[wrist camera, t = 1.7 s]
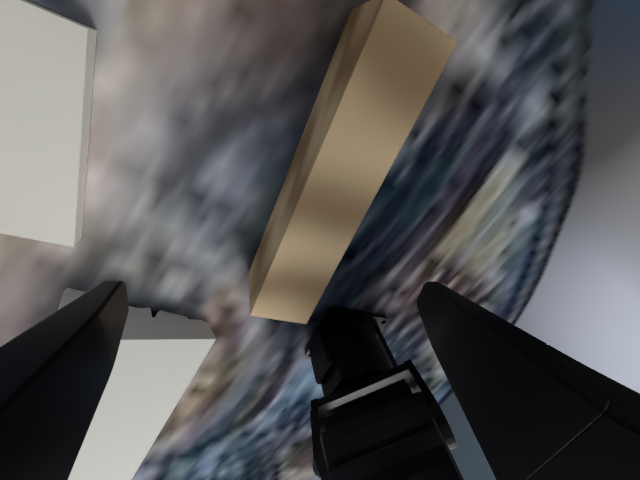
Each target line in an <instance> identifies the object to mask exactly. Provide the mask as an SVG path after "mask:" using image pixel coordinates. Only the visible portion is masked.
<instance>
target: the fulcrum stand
mask: <svg viewBox="0 0 640 480" xmlns="http://www.w3.org/2000/svg"><path fill="white" fill-rule="evenodd" d="M96 37H97V30H95V29H93V28H90V27H88V26H86V25H83V24H81V23H78V22H76V21H74V20H71V19H69V18H67V17H64V16H62V15H60V14H57V13H55V12H53V11H50V10H48V9H46V8H43V7H41V6H39V5H36V4H34V3H32V2H29V1H27V0H0V233H2V234H7V235H12V236H18V237H23V238H28V239H33V240H39V241H44V242H49V243H55V244H60V245H65V246H70V247H75V246H76V245H77V243H78V242H79V241H80V240H81V239H82V226H83V213H84V199H85V186H86V172H87V159H88V145H89V131H90V118H91V104H92V91H93V77H94V64H95V50H96Z"/></svg>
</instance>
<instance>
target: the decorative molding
mask: <svg viewBox="0 0 640 480" xmlns="http://www.w3.org/2000/svg"><path fill="white" fill-rule="evenodd" d="M84 293H86V292H83V291H79V290H75V289H71V288H66V289H65V290H64V292H63V294H62V297H61V301H60V304H59V307H58V310H59V309H61V308H62V307H64V306H65V305H67V304H69V303H70V302H72V301H73V300H75V299H76V298H78V297H79V296H81V295H83V294H84ZM58 310H57V311H58ZM215 340H216V338H215V336H214V334H213V332H212V330H211V328H210V326H209V324H208V322H206V321H202V320H197V319H188V317H185V316H181V315H177V314H173V313H169V312H165V311H161V310H160V311H159V312H157V314H156V316H155V317H152V313H151V309H150V308H149V307H147V308H135V307H132V306H129V311H128V316H127V319H126V323H125V327H124V330H123V334H122V338H121V341H120V345H119V349H118V352H117V356H116V360H115V363H114V366H113V369H112V372H111V375H110V377H109V380H108V382H107V385H106V387H105V390H104V392H103V395H102V397H101V400H100V402H99V404H98V407H97V409H96V412H95V414H94V417H93V419H92V422H91V424H90V426H89V429H88V431H87V434H86V436H85V439H84V441H83V444H82V446H81V448H80V451H79V453H78V456H77V458H76V461H75V463H74V466H73V468H72V470H71V473H70V475H69V478H68V480H131V479H132V478H133V476H134V474H135V473H136V471H137V469H138V468H139V466H140V464H141V463H142V461H143V459H144V458H145V456H146V454H147V453H148V451H149V449H150V448H151V446H152V444H153V443H154V441H155V439H156V438H157V436H158V434H159V433H160V431H161V429H162V428H163V426H164V424H165V423H166V421H167V419H168V418H169V416H170V415H171V413H172V411H173V410H174V408H175V406H176V405H177V403H178V401H179V400H180V398H181V396H182V395H183V393H184V391H185V390H186V388H187V386H188V385H189V383H190V381H191V380H192V378H193V376H194V375H195V373H196V371H197V370H198V368H199V366H200V365H201V363H202V361H203V360H204V358H205V356H206V355H207V353H208V351H209V350H210V348H211V347H212V345H213V343H214V342H215Z"/></svg>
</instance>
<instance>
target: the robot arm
mask: <svg viewBox="0 0 640 480" xmlns="http://www.w3.org/2000/svg"><path fill="white" fill-rule="evenodd" d="M417 308H418V310H419V313H420V316H421V319H422V321H423V324H424V327H425V329H426V332H427V335H428V337H429V340H430V342H431V345H432V347H433V350H434V352H435V354H436V356H437V358H438V360H439V362H440V364H441V366H442V368H443V370H444V372H445V374H446V377H447V379H448V381H449V383H450V385H451V387H452V389H453V391H454V393H455V395H456V397H457V399H458V401H459V403H460V405H461V407H462V409H463V411H464V413H465V416H466V418H467V420H468V421H469V424H470V426H471V428H472V430H473V432H474V434H475V436H476V438H477V440H478V442H479V444H480V446H481V448H482V451H483V453H484V455H485V457H486V459H487V461H488V463H489V465H490V467H491V469H492V471H493V473H494V475H495V477H496V479H497V480H640V394H639V393H637V392H635V391H633V390H631V389H630V388H628V387H626V386H624V385H621V384H620V383H618V382H616V381H614V380H612V379H610V378H608V377H606V376H604V375H603V374H601V373H598V372H597V371H595V370H593V369H591V368H589V367H587V366H586V365H584V364H581V363H580V362H578V361H576V360H574V359H573V358H571V357H569V356H567V355H565V354H563V353H562V352H560V351H558V350H557V349H555V348H553V347H551V346H550V345H547V344H546V343H544V342H542V341H541V340H539V339H537V338H536V337H534V336H532V335H530V334H528V333H526V332H525V331H523V330H521V329H520V328H518V327H516V326H514V325H513V324H511V323H509V322H507V321H506V320H504V319H502V318H500V317H499V316H497V315H495V314H493V313H492V312H490V311H488V310H486V309H485V308H483V307H481V306H479V305H478V304H476V303H474V302H472V301H471V300H469V299H467V298H465V297H464V296H462V295H460V294H458V293H456V292H455V291H453V290H451V289H449V288H448V287H446V286H444V285H442V284H441V283H439V282H426V283H425V284H424V286H423V288H422V290H421V292H420V294H419V297H418V299H417ZM128 311H129V303H128V298H127V292H126V286H125V284H124V282H123V281H120V280H107V281H103V282H101V283H100V284H98V285H97V286H95V287H93V288H92V289H90V290H89V291H87V292H86V293H84V294H83V295H81V296H79V297H78V298H76V299H75V300H73V301H72V302H70V303H69V304H67V305H65V306H64V307H62V308H61V309H59V310H58V311H56V312H54V313H53V314H51V315H50V316H48V317H47V318H45V319H44V320H42V321H40V322H39V323H37V324H36V325H34V326H33V327H31V328H30V329H28V330H26V331H25V332H23V333H22V334H20V335H19V336H17V337H15V338H14V339H12V340H11V341H9V342H8V343H6V344H5V345H3V346H1V347H0V480H68V478H69V475H70V473H71V470H72V468H73V466H74V463H75V461H76V458H77V456H78V453H79V451H80V448H81V446H82V444H83V441H84V439H85V436H86V434H87V431H88V429H89V426H90V424H91V422H92V419H93V417H94V414H95V412H96V409H97V407H98V404H99V402H100V400H101V397H102V395H103V392H104V390H105V387H106V385H107V382H108V380H109V377H110V375H111V372H112V369H113V366H114V363H115V360H116V356H117V352H118V349H119V345H120V341H121V338H122V334H123V330H124V327H125V323H126V319H127V316H128ZM333 312H334V313H333ZM387 323H388V319H387V317H386V316H384V315H378V314H372V313H367V312H361V311H355V310H349V309H344V308H338V307H331V308H329V309H328V310H327V312H326V314H325V316H324V318H323V320H322V321H321V323H320V325H319V326H318V327H317V329H316V331H315V333H314V334H313V336H312V338H311V340H310V342H309V344H308V347H307V349H306V351H305V356H306V358H309V359H311V361H312V366H313V370H314V375H315V379H316V382H317V384H321V386H322V390H323V394H324V397H322V398H319V399H317V398H316V399H314V400H311V411H310V415H311V428H312V442H313V470H314V473H315V475H316V476H318V477H319V478H321V480H464V479H463V477H462V475H461V473H460V471H459V469H458V467H457V465H456V463H455V460H454V458H453V456H452V454H451V452H450V450H452V449H454V448H456V447H457V444H456V441H455V438H454V436H453V433H452V431H451V428H450V426H449V424H448V422H447V420H446V418H445V416H444V414H443V412H442V410H441V408H440V406H439V405H438V403H437V401H436V399H435V398H434V396H433V394H432V393H431V391H430V390H429V388H428V387H427V385H426V383H425V382H424V380H423V379H422V377H421V376H420V374H419V372H418V371H417V369H416V368H415V366H414V365H413V363H412V361H411V360H410V359H409V360H407V361H404V363H403V364H400V365H397V363H396V361H395V359H394V357H393V355H392V353H391V351H390V349H389V347H388V345H387V343H386V341H385V339H384V337H383V335H382V333H381V332H382V331H383V329H384V328H385V326H386V325H387Z"/></svg>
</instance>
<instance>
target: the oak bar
mask: <svg viewBox="0 0 640 480" xmlns="http://www.w3.org/2000/svg"><path fill="white" fill-rule="evenodd" d="M457 43H458V42H456V41H455V40H453V39H452V38H450V37H449V36H448V35H446V34H445V33H443V32H442V31H440V30H439V29H438V28H436V27H435V26H433V25H432V24H431V23H429V22H428V21H426V20H425V19H423V18H422V17H421V16H419V15H418V14H416V13H415V12H413V11H412V10H411V9H409V8H408V7H406V6H405V5H403V4H402V3H401V2H399V1H398V0H370V1H368V2H366V3H364V4H362V5H359V6H357V7H355V8H353V9H351V11H350V14H349V16H348V19H347V21H346V24H345V27H344V29H343V32H342V34H341V37H340V39H339V42H338V45H337V47H336V50H335V52H334V55H333V57H332V60H331V62H330V65H329V68H328V70H327V73H326V75H325V78H324V80H323V83H322V86H321V88H320V91H319V93H318V96H317V98H316V101H315V104H314V106H313V109H312V111H311V114H310V116H309V119H308V122H307V124H306V127H305V129H304V132H303V134H302V137H301V139H300V142H299V145H298V147H297V150H296V152H295V155H294V157H293V160H292V163H291V165H290V168H289V170H288V173H287V175H286V178H285V181H284V183H283V186H282V188H281V191H280V193H279V196H278V198H277V201H276V204H275V206H274V209H273V211H272V214H271V216H270V219H269V222H268V224H267V227H266V229H265V232H264V234H263V237H262V240H261V242H260V245H259V247H258V250H257V252H256V255H255V258H254V260H253V263H252V265H251V268H250V270H249V291H250V316H257V317H263V318H270V319H276V320H283V321H289V322H296V323H302V324H307V322H308V320H309V318H310V316H311V315H312V313H313V311H314V309H315V307H316V305H317V303H318V302H319V300H320V298H321V296H322V294H323V292H324V290H325V289H326V287H327V285H328V283H329V281H330V279H331V277H332V276H333V274H334V272H335V270H336V268H337V266H338V264H339V263H340V261H341V259H342V257H343V255H344V253H345V251H346V250H347V248H348V246H349V244H350V242H351V240H352V238H353V237H354V235H355V233H356V231H357V229H358V227H359V225H360V224H361V222H362V220H363V218H364V216H365V214H366V212H367V211H368V209H369V207H370V205H371V203H372V201H373V199H374V198H375V196H376V194H377V192H378V190H379V188H380V186H381V185H382V183H383V181H384V179H385V177H386V175H387V173H388V172H389V170H390V168H391V166H392V164H393V162H394V160H395V159H396V157H397V155H398V153H399V151H400V149H401V147H402V146H403V144H404V142H405V140H406V138H407V136H408V134H409V133H410V131H411V129H412V127H413V125H414V123H415V121H416V120H417V118H418V116H419V114H420V112H421V110H422V108H423V107H424V105H425V103H426V101H427V99H428V97H429V95H430V94H431V92H432V90H433V88H434V86H435V84H436V82H437V81H438V79H439V77H440V75H441V73H442V71H443V69H444V68H445V66H446V64H447V62H448V60H449V58H450V56H451V55H452V53H453V51H454V49H455V47H456V45H457Z"/></svg>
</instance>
